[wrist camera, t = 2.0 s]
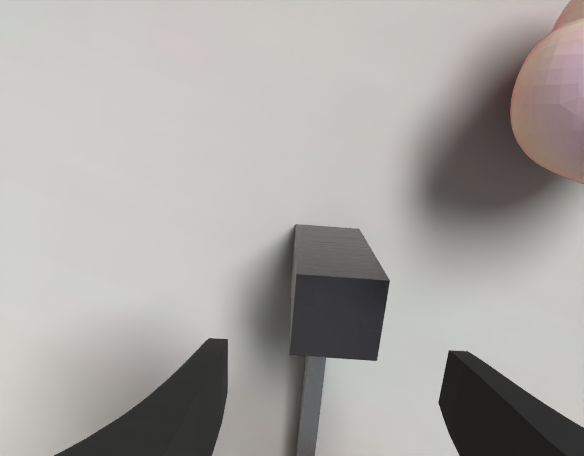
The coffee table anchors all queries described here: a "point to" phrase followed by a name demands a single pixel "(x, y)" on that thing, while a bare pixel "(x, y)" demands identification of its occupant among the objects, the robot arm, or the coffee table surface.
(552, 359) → the coffee table surface
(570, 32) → the decorative fruit
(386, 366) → the coffee table surface
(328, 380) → the coffee table surface
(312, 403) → the dark grey mallet
